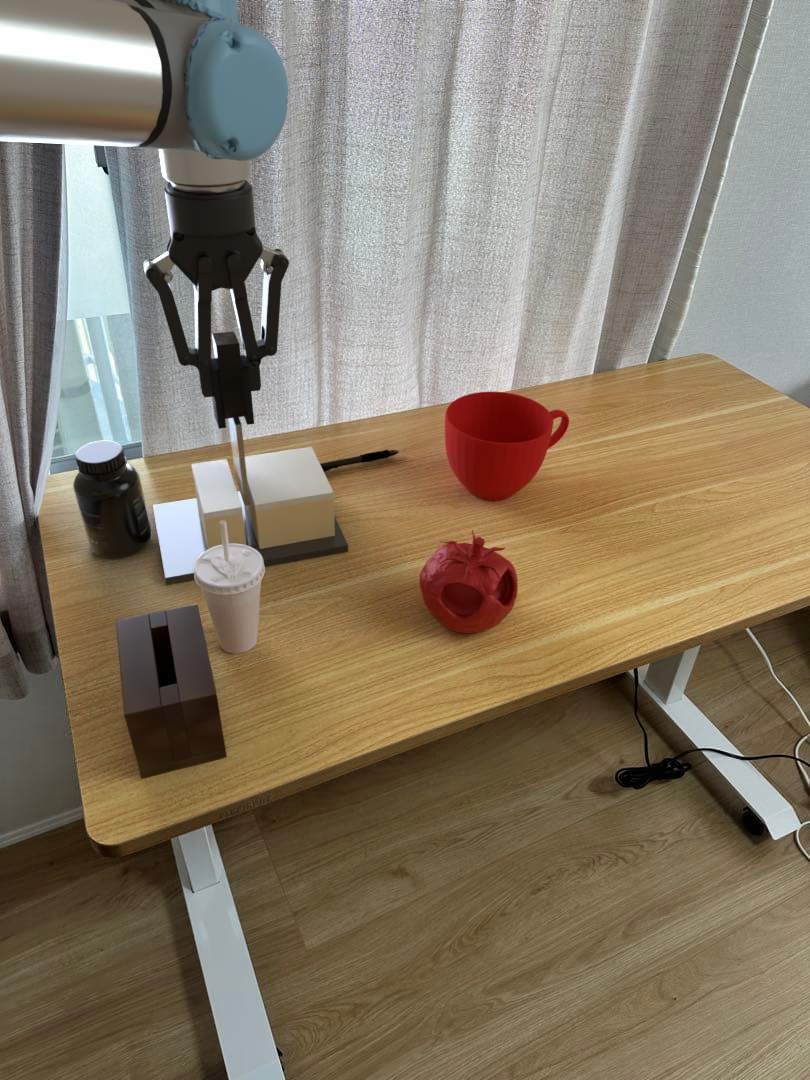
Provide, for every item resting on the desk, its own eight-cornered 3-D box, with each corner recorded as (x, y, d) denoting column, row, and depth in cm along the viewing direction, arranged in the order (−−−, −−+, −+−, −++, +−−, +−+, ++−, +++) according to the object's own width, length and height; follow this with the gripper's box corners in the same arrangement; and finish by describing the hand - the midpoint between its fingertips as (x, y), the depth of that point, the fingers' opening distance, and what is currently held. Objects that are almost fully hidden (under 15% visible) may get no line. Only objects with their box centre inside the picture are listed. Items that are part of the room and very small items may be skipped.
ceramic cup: (588, 494, 102) (602, 424, 96) (472, 525, 95) (479, 453, 89) (531, 445, 111) (541, 378, 105) (422, 471, 105) (426, 402, 99)
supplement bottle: (125, 517, 95) (106, 427, 87) (165, 538, 92) (148, 448, 84) (76, 545, 90) (51, 453, 83) (116, 569, 87) (93, 476, 80)
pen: (299, 479, 102) (299, 472, 101) (295, 473, 103) (295, 465, 102) (401, 459, 106) (401, 452, 106) (396, 453, 108) (396, 445, 107)
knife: (237, 507, 87) (218, 352, 76) (227, 477, 92) (209, 327, 81) (257, 503, 88) (242, 349, 77) (247, 474, 92) (231, 325, 81)
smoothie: (264, 612, 82) (254, 500, 74) (277, 656, 78) (267, 541, 69) (201, 624, 81) (182, 511, 72) (209, 669, 76) (190, 554, 67)
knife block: (141, 778, 66) (123, 714, 61) (131, 683, 74) (115, 619, 69) (226, 757, 68) (216, 693, 63) (208, 666, 76) (197, 603, 71)
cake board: (166, 585, 85) (164, 578, 85) (153, 511, 96) (152, 504, 95) (348, 551, 91) (348, 544, 90) (317, 485, 101) (317, 478, 101)
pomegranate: (405, 589, 86) (408, 518, 80) (491, 572, 89) (500, 503, 83) (437, 653, 79) (443, 581, 73) (530, 633, 81) (542, 562, 76)
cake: (259, 549, 89) (255, 505, 85) (243, 499, 96) (238, 457, 93) (334, 536, 91) (333, 492, 88) (313, 488, 99) (311, 446, 95)
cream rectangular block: (210, 558, 88) (203, 513, 84) (197, 507, 95) (191, 464, 91) (246, 551, 89) (242, 507, 85) (231, 501, 96) (226, 458, 92)
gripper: (285, 166, 75) (297, 394, 89) (113, 174, 71) (155, 412, 85) (304, 187, 69) (314, 427, 84) (118, 198, 65) (163, 448, 79)
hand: (234, 419), depth 84 cm, fingers closed on knife, 2 cm apart
